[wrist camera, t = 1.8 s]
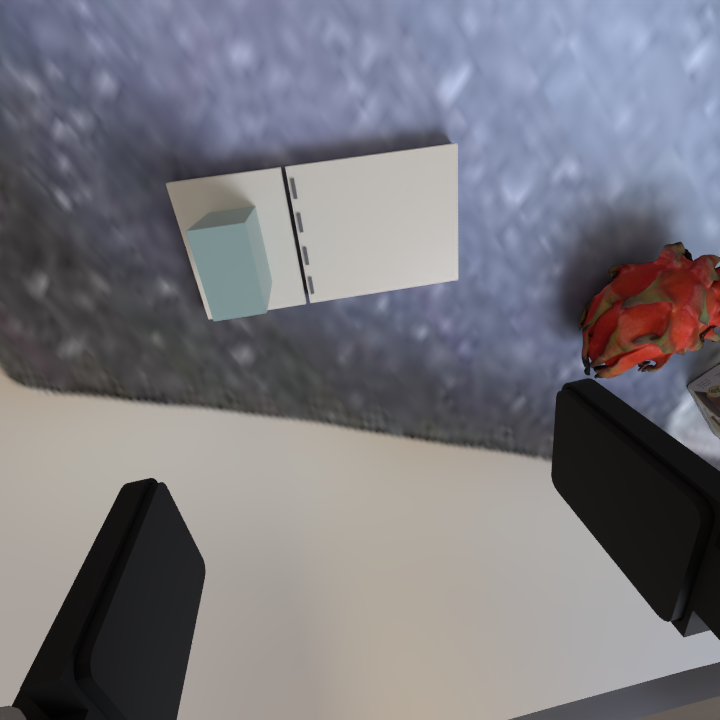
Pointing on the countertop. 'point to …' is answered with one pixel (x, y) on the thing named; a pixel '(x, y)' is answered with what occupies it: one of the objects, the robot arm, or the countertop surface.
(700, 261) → the dragon fruit
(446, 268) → the ticket
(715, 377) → the coffee box
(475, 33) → the countertop surface
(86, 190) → the countertop surface
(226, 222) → the stub
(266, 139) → the countertop surface
